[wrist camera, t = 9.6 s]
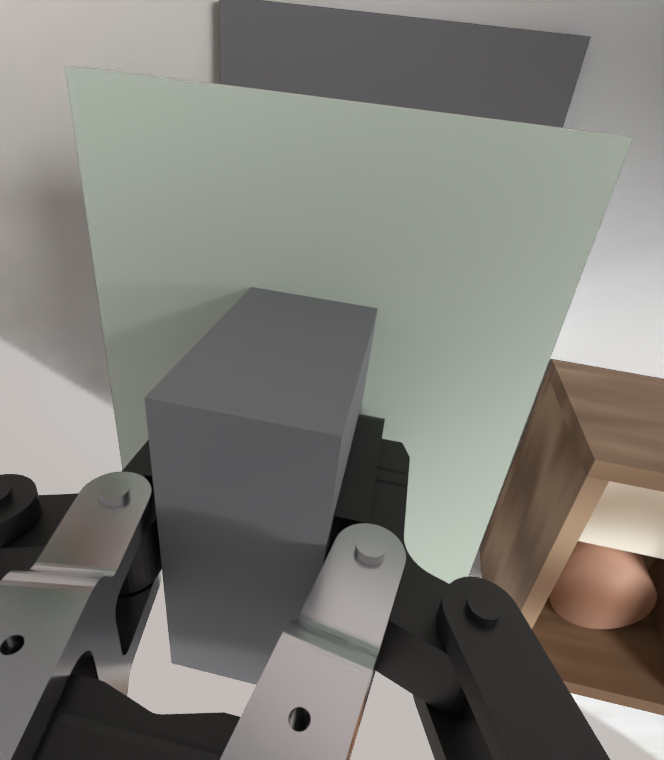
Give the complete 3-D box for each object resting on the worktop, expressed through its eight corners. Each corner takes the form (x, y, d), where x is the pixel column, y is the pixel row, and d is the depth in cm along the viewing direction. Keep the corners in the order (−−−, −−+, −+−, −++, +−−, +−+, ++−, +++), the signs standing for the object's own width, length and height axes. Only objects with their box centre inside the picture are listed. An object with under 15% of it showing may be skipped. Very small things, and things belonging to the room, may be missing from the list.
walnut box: (552, 359, 25) (594, 460, 18) (766, 396, 24) (897, 519, 17) (479, 549, 32) (490, 673, 25) (641, 585, 31) (699, 724, 24)
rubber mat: (225, -3, 20) (219, -5, 19) (586, 38, 19) (590, 37, 18) (226, 409, 30) (222, 415, 30) (458, 456, 29) (458, 462, 28)
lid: (123, 70, 12) (-210, 45, 6) (598, 130, 11) (811, 178, 5) (164, 517, 20) (40, 711, 13) (445, 580, 18) (449, 822, 12)
